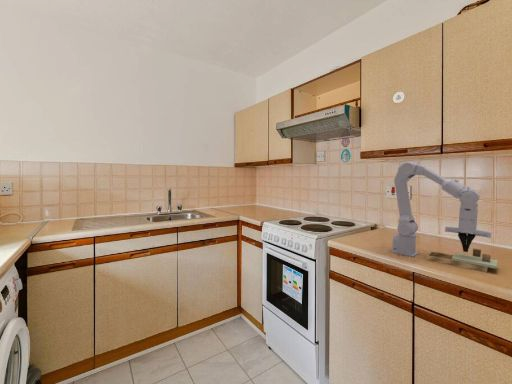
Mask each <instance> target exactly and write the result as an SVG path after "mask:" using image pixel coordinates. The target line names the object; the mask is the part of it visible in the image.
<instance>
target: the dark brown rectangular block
mask: <svg viewBox="0 0 512 384" xmlns="http://www.w3.org/2000/svg"><path fill="white" fill-rule="evenodd" d="M472 256H476V257H481V256H482V249H481V248H480V249H479V248H475V247H474V248H472ZM481 258H482V257H481Z"/></svg>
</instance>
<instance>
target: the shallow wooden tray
mask: <svg viewBox="0 0 512 384" xmlns="http://www.w3.org/2000/svg"><path fill="white" fill-rule="evenodd" d="M453 255H454V254H450V253H444V252H440V251H433V250H431V251H430V252H429V253H428V254H426V256H425V257H426V260H425V261H428V262H432V263H433V262H434V263H439V264H443V265H448V266H453V267H459V268H463V269H467V270H473V271H478V272H482V273H488V270H489V267H484V266H479V265H474V264H469V263H464V262H459V261H454V260H452V257H453Z"/></svg>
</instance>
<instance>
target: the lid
mask: <svg viewBox="0 0 512 384" xmlns="http://www.w3.org/2000/svg"><path fill="white" fill-rule="evenodd" d="M452 255H453V257H452V260H454V261H459V262H464V263H469V264H474V265H479V266H484V267H488V268H491V269H495V270H497V267H498V262H499V261H498V259H492V256H491V254H486V253H481V256H482V257H476V256H473V255H469V254H462V253H457V252H455V253H454V254H452Z"/></svg>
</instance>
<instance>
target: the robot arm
mask: <svg viewBox="0 0 512 384" xmlns="http://www.w3.org/2000/svg"><path fill="white" fill-rule="evenodd" d="M415 176H424V177H425V178H427V179H429V180H431V181H432V182H435V183H436V184H438V185H439V186H441V190H442V191H443V192H445V193H448V195H451V196H452V197H453V198H456V199H459V202H460V205H459V206H460V207H459V215H458V218H459V219H458V226H457V227H452V226H445V227H444V232H446V233H455V234H458V235H457V237H458V239H459V241H460V244H461V246H462V252H463V253H468V252H469V248H470V247H471V244H472V242H473V240H474V239H475V238H476V236H477V237H482V238H483V237H484V238H488V239H490V238H491V237H492V232H490V231H484V230H478V229H477V225H478V211H479V207H478V206H479V204H478V202H479V200H480V194H479V193H478V192H477V191H476V190H474V189H471V187H469V186H466V185H464V184H461V183H460V182H459V181H460V180H458V179H456V178H455V179H453V178H449V179H447V178H445V177H444V176H441V175H440V174H439V173H437V172H435V171H434V170H432V169H431V168H429V167H427V166H425V165H423V164H420V163H418V162H415V161H404V162H403V163H402V164H400V166H398V168H397V172H396V174H395V177H394V179H393V181H394V182H393V183H394V188H395V194H396V200H397V202H396V203H397V207H398V213H399V217H398V225H397V227H396V228H397V232H398V233H394V234H393V236H392V248H391V253H393V254H399V255H403V256H408V257H412V258H414V257H415V256H417V255H418V253H419V252H418V251H416V248H417V244H416V243H417V233H416V232H417V231H418V230H419V227H418V223H417V222H416V220H415V217H414V215H413V213H412V212H413V211H412V206H411V200H410V195H409V189H408V182H410V180H411V179H412V178H413V177H415Z"/></svg>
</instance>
